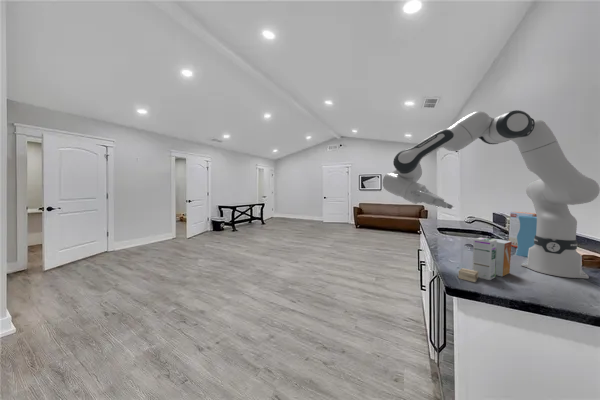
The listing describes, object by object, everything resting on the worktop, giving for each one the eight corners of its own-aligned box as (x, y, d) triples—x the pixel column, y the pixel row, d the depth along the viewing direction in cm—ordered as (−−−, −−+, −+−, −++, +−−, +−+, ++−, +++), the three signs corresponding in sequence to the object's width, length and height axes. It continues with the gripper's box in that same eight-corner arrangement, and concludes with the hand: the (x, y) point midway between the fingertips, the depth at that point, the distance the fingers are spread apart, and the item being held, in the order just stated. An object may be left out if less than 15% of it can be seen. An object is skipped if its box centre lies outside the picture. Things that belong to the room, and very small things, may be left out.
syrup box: (490, 280, 86) (492, 241, 85) (471, 275, 91) (473, 238, 90) (495, 277, 89) (497, 239, 88) (476, 272, 94) (478, 236, 93)
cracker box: (540, 251, 130) (543, 214, 129) (529, 251, 130) (532, 213, 129) (517, 245, 144) (520, 211, 143) (507, 245, 144) (509, 211, 143)
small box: (502, 277, 90) (505, 243, 89) (482, 272, 95) (484, 240, 95) (510, 273, 94) (512, 241, 94) (490, 268, 100) (492, 238, 99)
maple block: (462, 275, 91) (462, 268, 91) (477, 279, 88) (478, 271, 88) (458, 278, 88) (458, 270, 88) (474, 282, 84) (475, 274, 84)
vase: (516, 252, 128) (518, 215, 127) (536, 255, 122) (539, 217, 121) (515, 255, 122) (518, 216, 121) (537, 258, 117) (540, 218, 116)
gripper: (412, 184, 96) (447, 198, 87) (426, 189, 111) (457, 201, 102) (405, 198, 98) (439, 213, 89) (420, 201, 113) (450, 214, 104)
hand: (449, 206), depth 96 cm, fingers open, 8 cm apart
